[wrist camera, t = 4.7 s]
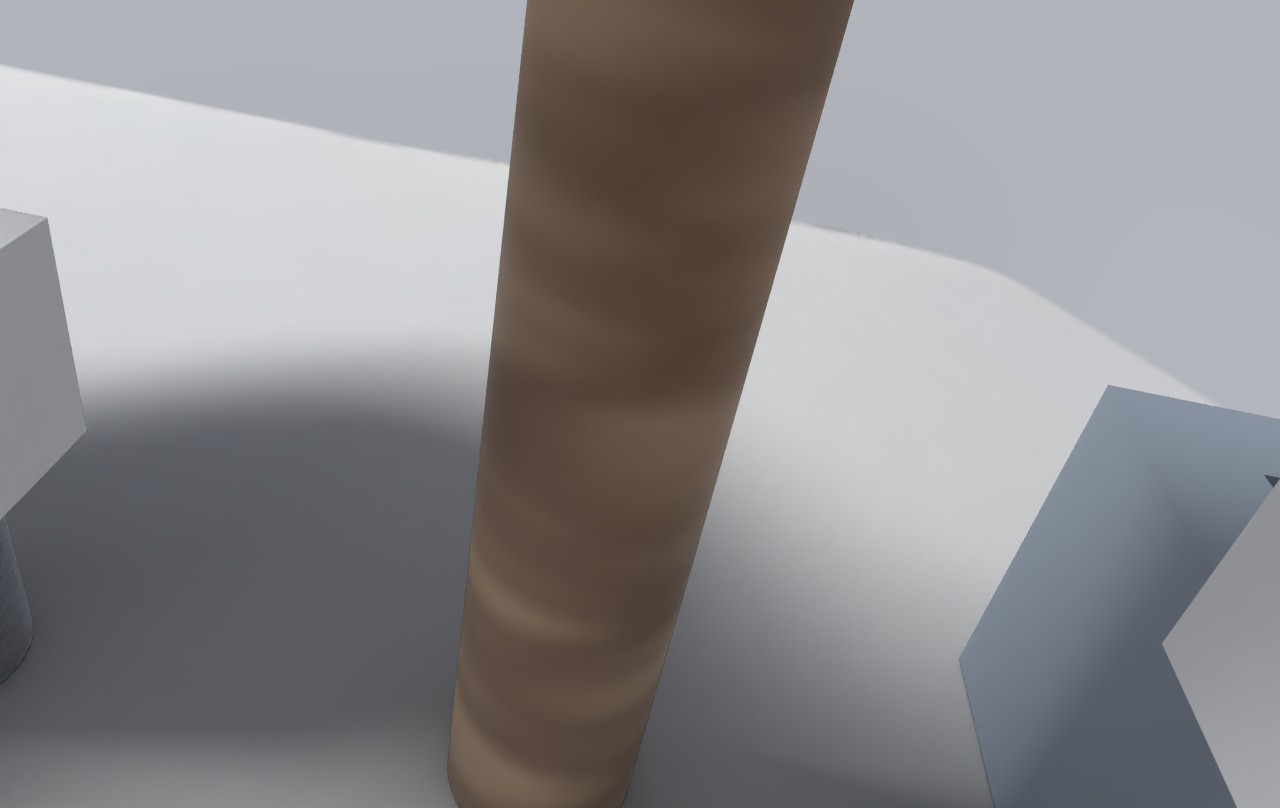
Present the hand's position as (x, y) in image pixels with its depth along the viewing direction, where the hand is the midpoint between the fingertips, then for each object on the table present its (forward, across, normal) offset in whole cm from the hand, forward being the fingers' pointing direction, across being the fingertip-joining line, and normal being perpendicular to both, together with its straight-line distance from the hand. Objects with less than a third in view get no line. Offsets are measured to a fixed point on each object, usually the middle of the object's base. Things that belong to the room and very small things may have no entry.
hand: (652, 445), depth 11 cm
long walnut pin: (+4, -1, -12) cm, 13 cm away
